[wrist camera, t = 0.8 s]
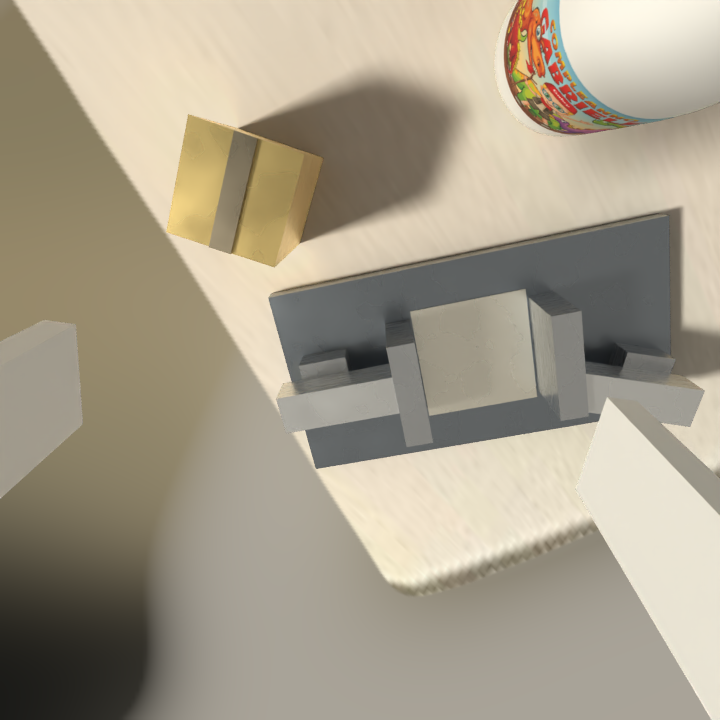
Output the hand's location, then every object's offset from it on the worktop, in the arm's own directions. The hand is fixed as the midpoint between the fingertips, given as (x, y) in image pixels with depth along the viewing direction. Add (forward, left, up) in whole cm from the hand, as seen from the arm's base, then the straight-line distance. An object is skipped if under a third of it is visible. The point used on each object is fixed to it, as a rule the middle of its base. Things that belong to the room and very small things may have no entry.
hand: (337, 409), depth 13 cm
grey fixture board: (+6, +6, -20) cm, 21 cm away
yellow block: (-6, -4, -20) cm, 21 cm away
